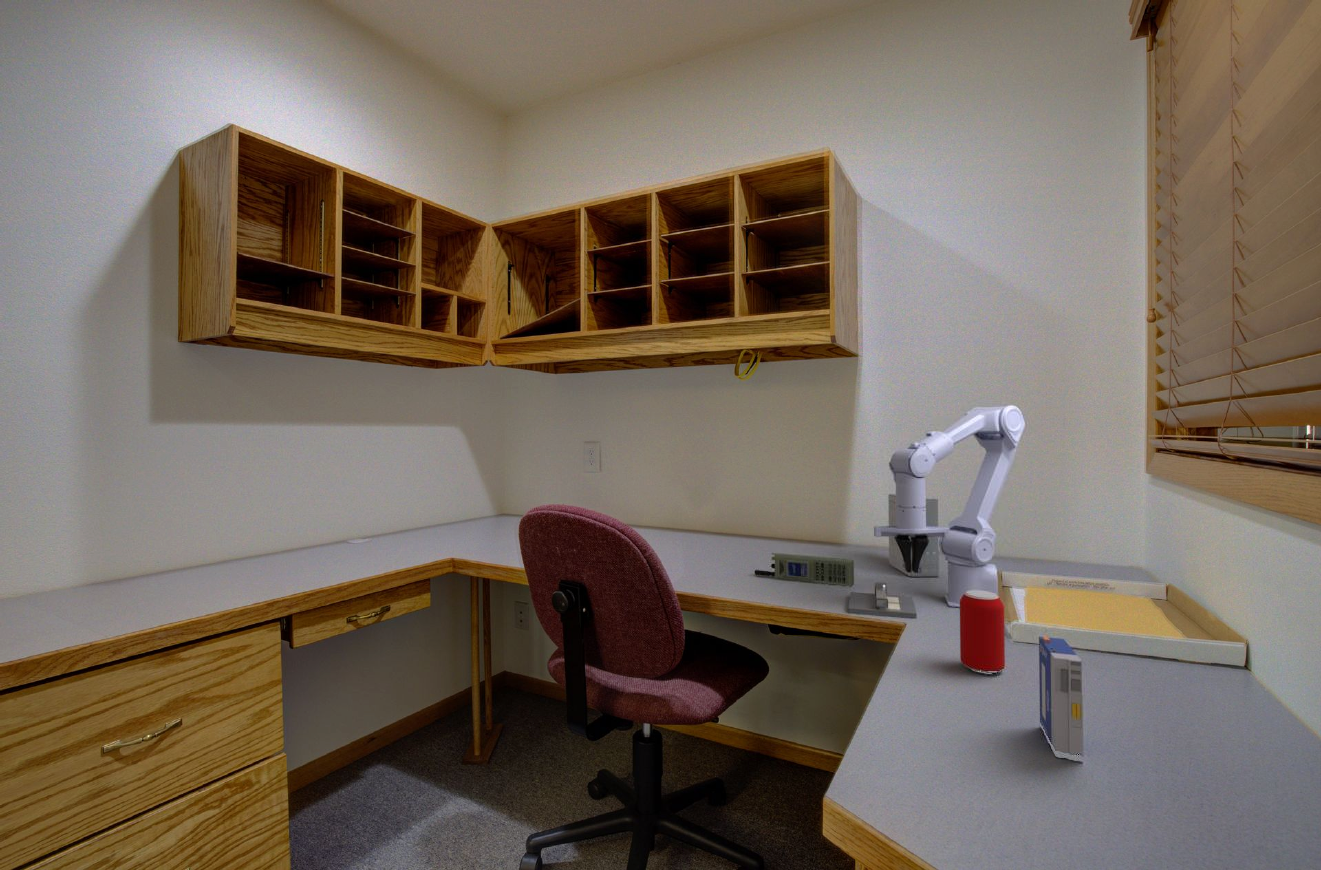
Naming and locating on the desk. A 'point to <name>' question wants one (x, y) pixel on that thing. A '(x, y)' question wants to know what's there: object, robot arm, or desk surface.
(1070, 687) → the walkman
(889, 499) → the hard drive box
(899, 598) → the label board
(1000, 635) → the beverage can
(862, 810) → the desk surface
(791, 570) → the handheld radio
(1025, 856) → the desk surface
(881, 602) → the bar
